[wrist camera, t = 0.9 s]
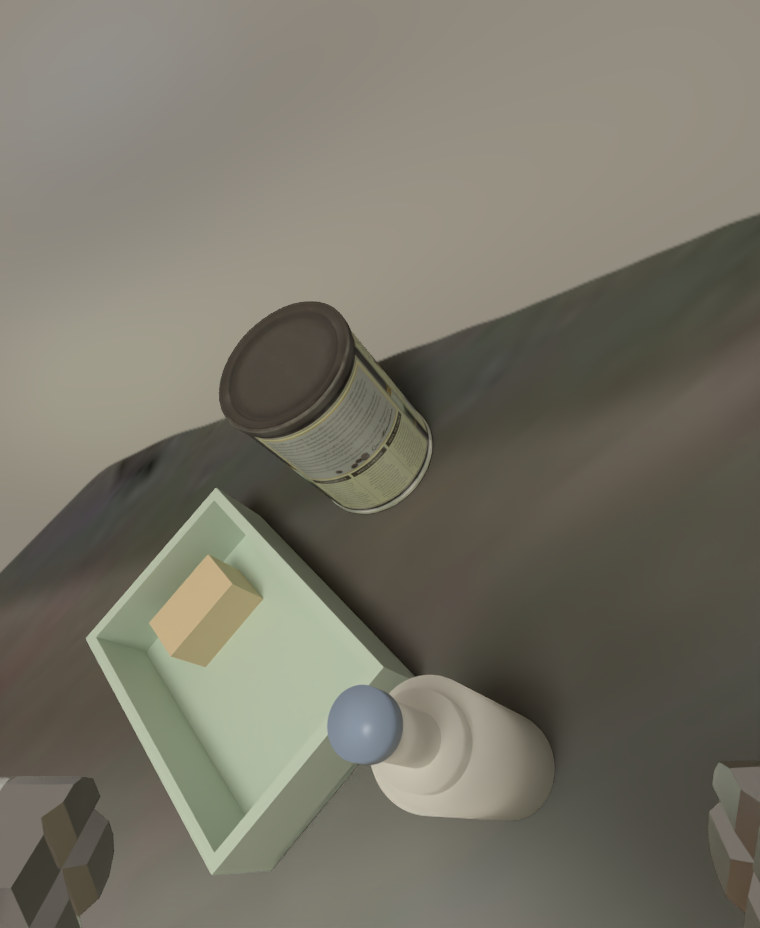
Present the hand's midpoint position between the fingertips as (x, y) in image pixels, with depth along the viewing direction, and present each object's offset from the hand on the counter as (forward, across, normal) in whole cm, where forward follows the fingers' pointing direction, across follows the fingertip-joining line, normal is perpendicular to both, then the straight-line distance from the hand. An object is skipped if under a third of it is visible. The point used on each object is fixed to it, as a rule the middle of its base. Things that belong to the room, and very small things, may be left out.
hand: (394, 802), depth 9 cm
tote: (+34, +14, +25) cm, 44 cm away
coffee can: (+44, +4, +12) cm, 46 cm away
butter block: (+38, +18, +23) cm, 48 cm away
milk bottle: (+24, -3, +25) cm, 35 cm away
